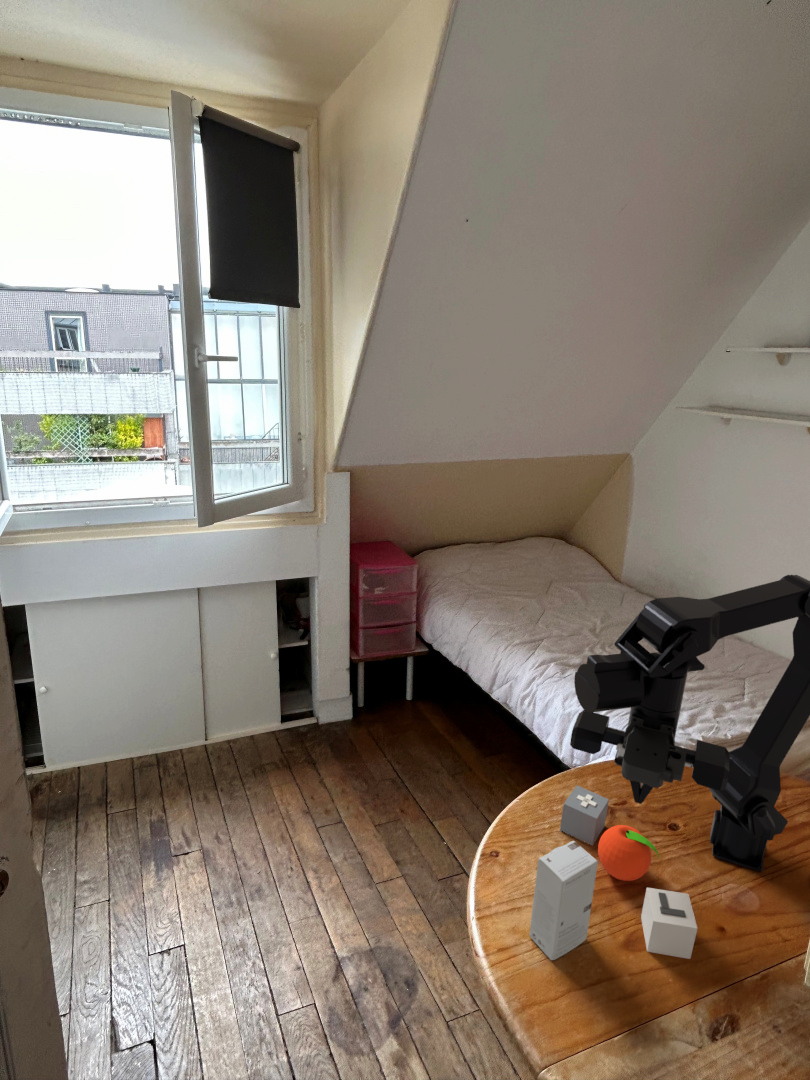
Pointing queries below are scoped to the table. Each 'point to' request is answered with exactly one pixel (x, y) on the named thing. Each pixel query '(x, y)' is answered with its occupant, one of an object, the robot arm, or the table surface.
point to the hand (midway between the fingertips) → (638, 801)
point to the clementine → (625, 852)
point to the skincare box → (562, 899)
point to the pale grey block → (668, 923)
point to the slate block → (584, 815)
